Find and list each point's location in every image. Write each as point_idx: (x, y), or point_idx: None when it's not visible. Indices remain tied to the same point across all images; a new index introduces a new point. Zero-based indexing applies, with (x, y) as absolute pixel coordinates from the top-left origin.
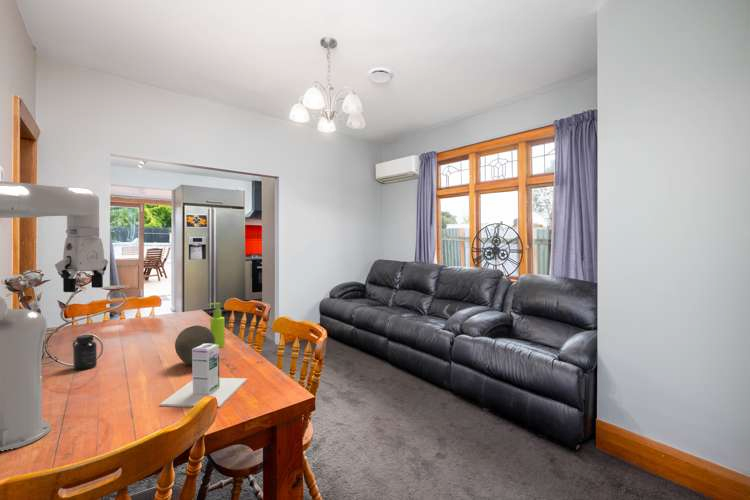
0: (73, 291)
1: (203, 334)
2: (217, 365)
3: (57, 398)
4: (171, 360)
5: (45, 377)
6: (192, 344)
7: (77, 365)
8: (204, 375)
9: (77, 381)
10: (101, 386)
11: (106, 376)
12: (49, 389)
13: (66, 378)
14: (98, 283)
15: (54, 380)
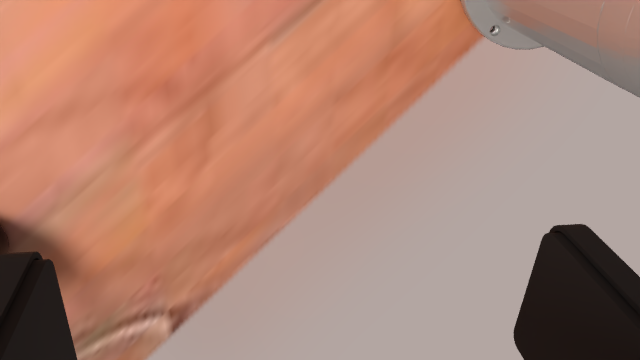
0: (579, 232)
1: None
2: None
3: (262, 86)
4: None
5: (100, 281)
6: None
7: (1, 249)
8: None
9: (107, 146)
10: (134, 5)
11: (27, 72)
12: (193, 179)
13: (90, 209)
14: (38, 337)
15: (117, 231)
